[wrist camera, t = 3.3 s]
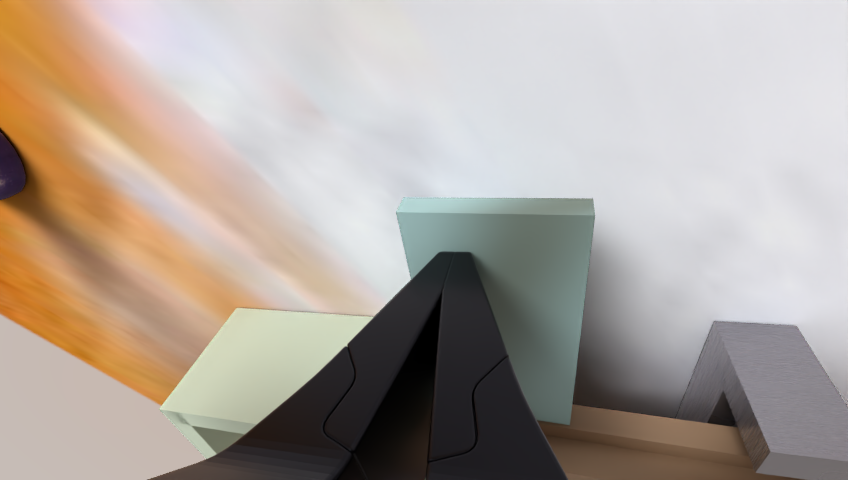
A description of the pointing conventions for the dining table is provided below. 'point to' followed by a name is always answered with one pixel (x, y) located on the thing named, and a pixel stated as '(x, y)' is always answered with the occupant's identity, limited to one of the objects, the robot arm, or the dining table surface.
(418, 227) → the lever
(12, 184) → the toy lamp
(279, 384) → the box
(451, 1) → the dining table surface
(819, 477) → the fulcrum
